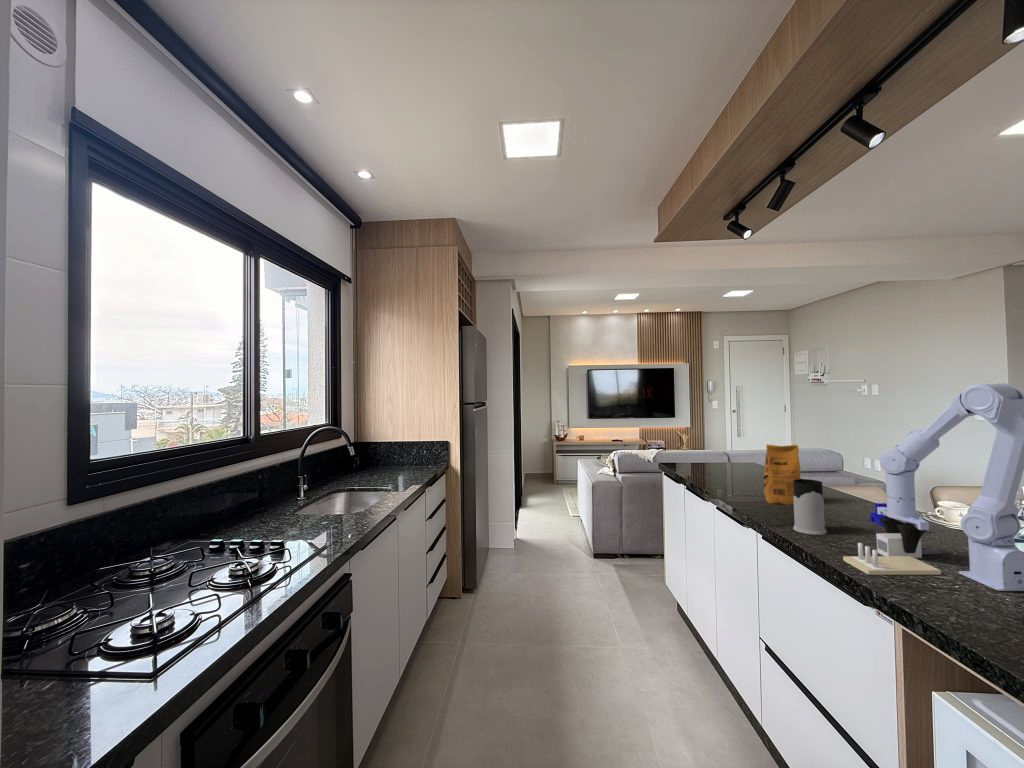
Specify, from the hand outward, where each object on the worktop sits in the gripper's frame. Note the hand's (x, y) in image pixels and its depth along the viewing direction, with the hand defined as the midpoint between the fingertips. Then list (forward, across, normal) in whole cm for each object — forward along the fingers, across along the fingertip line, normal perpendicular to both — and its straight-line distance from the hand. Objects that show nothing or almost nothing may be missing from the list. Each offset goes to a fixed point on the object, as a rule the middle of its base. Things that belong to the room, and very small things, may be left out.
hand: (903, 549), depth 117 cm
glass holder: (+2, +24, +11) cm, 26 cm away
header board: (+1, -8, +9) cm, 12 cm away
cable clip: (+2, +24, -14) cm, 28 cm away
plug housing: (+1, 0, -2) cm, 2 cm away
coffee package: (+2, +56, +2) cm, 56 cm away
